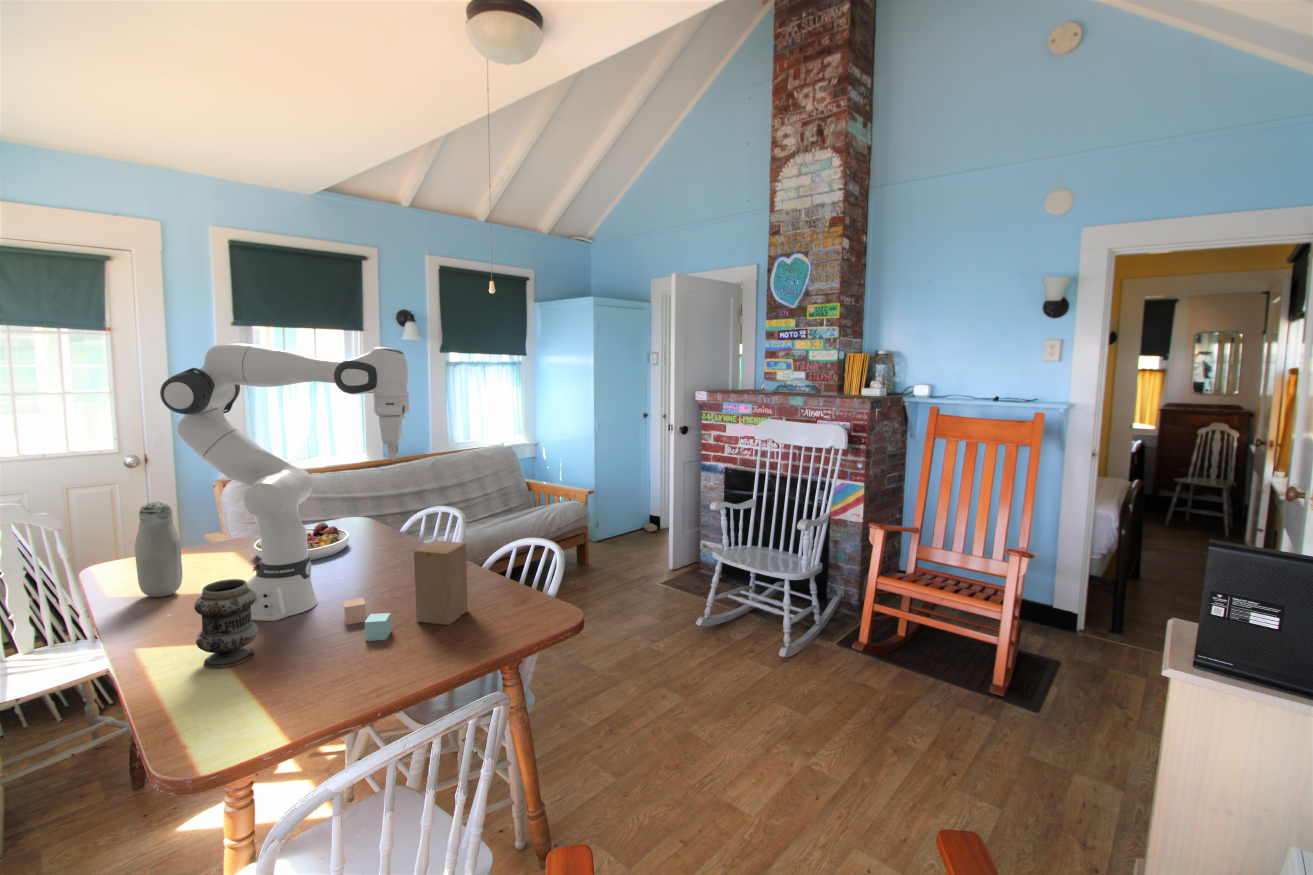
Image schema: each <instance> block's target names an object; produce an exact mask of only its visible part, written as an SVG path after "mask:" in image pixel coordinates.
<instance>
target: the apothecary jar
mask: <svg viewBox="0 0 1313 875" xmlns="http://www.w3.org/2000/svg"><path fill="white" fill-rule="evenodd" d="M201 593H202V594H201V596H200V597H199V598H197V600H196V601H195V602H194V605H193V606H194V611H195V612H196V613H197V614H199V615H201V625H202V626H201V631H199V633H198V635H197V636H196V639H195V644H196V647H197V648H198V649H200V650H202V651H203V652H206V653H211V654H210V655H208V656H207V658H205V659H204V661H203V665H204V666H205V667H206V668H209V669H224V668H229V667H234V666H237V665H240V664H242V663H245V662H247V661H249V660H250V659H251V657H252V656H254V655H255V650H254V649H253V648H250V647H247V645H250V644H251V643H252V642H253V641H254V640H255V639H256V638H257V637H258V635H259V627H258V625H257V623H255V622H254V621H253V620H252V619H251V605H253V603H254V602H255V600H256V594H255V592H254V591H253V590H251V589H249V588H248V586H247V581H246V580H244V579H240V578H239V579H238V578H233V579H223V580H222V579H221V580H217V581H214V582H211V583H209V584H207V585H205V586H204V587H203V588H202V591H201Z"/></svg>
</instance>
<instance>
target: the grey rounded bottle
mask: <svg viewBox="0 0 1313 875" xmlns="http://www.w3.org/2000/svg"><path fill="white" fill-rule="evenodd" d="M138 517H139V524H138V531H137V534H136V537H135V543H134V555H135V564H136V576H137V582H138V586H139V588H140V591H141V592H142V594H144V595H145V596H147V597H150V598H162V597H167V596H170V595H173V594H174V593H176V592H177V591H178V590H179V588H180V587H181V585H182V583H183V582H182V581H183V564H182V563H183V562H182V544H181V543H182V542H181V537H180V534H179V533H178V530H177V528H176V526H175V522H174V518H173V509H172V507H171V506H170V504H168V503H166V502H163V501H161V502H160V501H156V502H149V503H146V504H144V505H142V506H141V507H140V509H139V512H138Z"/></svg>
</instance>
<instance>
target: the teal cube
mask: <svg viewBox="0 0 1313 875" xmlns="http://www.w3.org/2000/svg"><path fill="white" fill-rule="evenodd" d="M392 630H393V629H392V613H391V612H387V613H385V612H384V613H383V612H382V613H381V612H380V613H370V614H369V615H368V616H367V617H366V621H365V622H364V637H365V638H364V640H365V642H366V641H367V642H368V641H384V640H387V639H388V638H389V636H390V635H391V633H392Z"/></svg>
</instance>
